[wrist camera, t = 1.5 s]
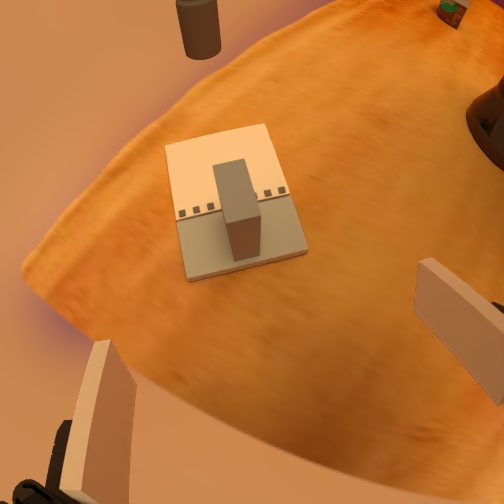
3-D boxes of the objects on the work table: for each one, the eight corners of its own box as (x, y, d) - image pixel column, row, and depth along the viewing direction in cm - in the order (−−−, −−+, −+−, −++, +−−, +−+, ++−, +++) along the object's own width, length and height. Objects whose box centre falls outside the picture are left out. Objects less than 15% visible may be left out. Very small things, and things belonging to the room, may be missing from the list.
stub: (179, 227, 33) (151, 175, 24) (289, 201, 34) (301, 142, 24) (189, 282, 32) (160, 246, 22) (306, 253, 32) (327, 207, 23)
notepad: (167, 152, 37) (164, 144, 35) (264, 131, 38) (264, 122, 36) (179, 225, 34) (175, 219, 32) (288, 199, 34) (290, 192, 33)
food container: (430, 4, 54) (440, -23, 45) (450, 13, 54) (461, -13, 44) (435, 21, 51) (447, -9, 41) (457, 31, 50) (470, 2, 40)
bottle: (220, 39, 45) (212, -36, 31) (222, 57, 43) (215, -25, 29) (185, 44, 45) (171, -30, 30) (185, 63, 43) (169, -17, 28)
